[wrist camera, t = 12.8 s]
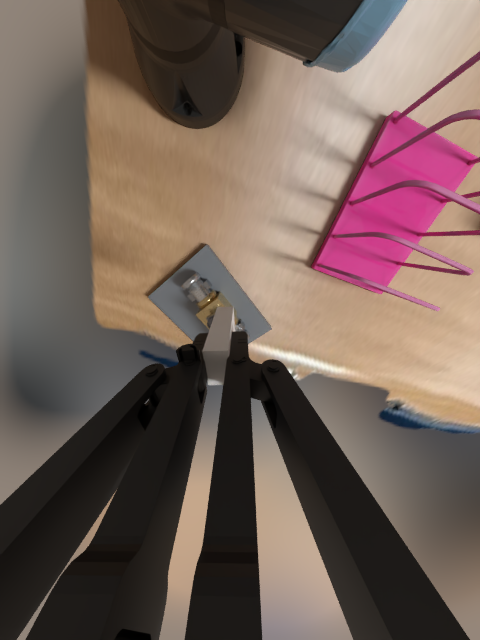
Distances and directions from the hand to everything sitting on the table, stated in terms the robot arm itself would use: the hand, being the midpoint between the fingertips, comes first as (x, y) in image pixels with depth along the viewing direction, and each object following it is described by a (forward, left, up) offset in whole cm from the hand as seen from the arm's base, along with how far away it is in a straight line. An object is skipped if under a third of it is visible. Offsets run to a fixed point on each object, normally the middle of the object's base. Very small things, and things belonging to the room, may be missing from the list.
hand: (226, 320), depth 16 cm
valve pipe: (+4, -8, -24) cm, 26 cm away
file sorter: (+9, +29, -25) cm, 39 cm away
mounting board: (+4, -10, -24) cm, 26 cm away
